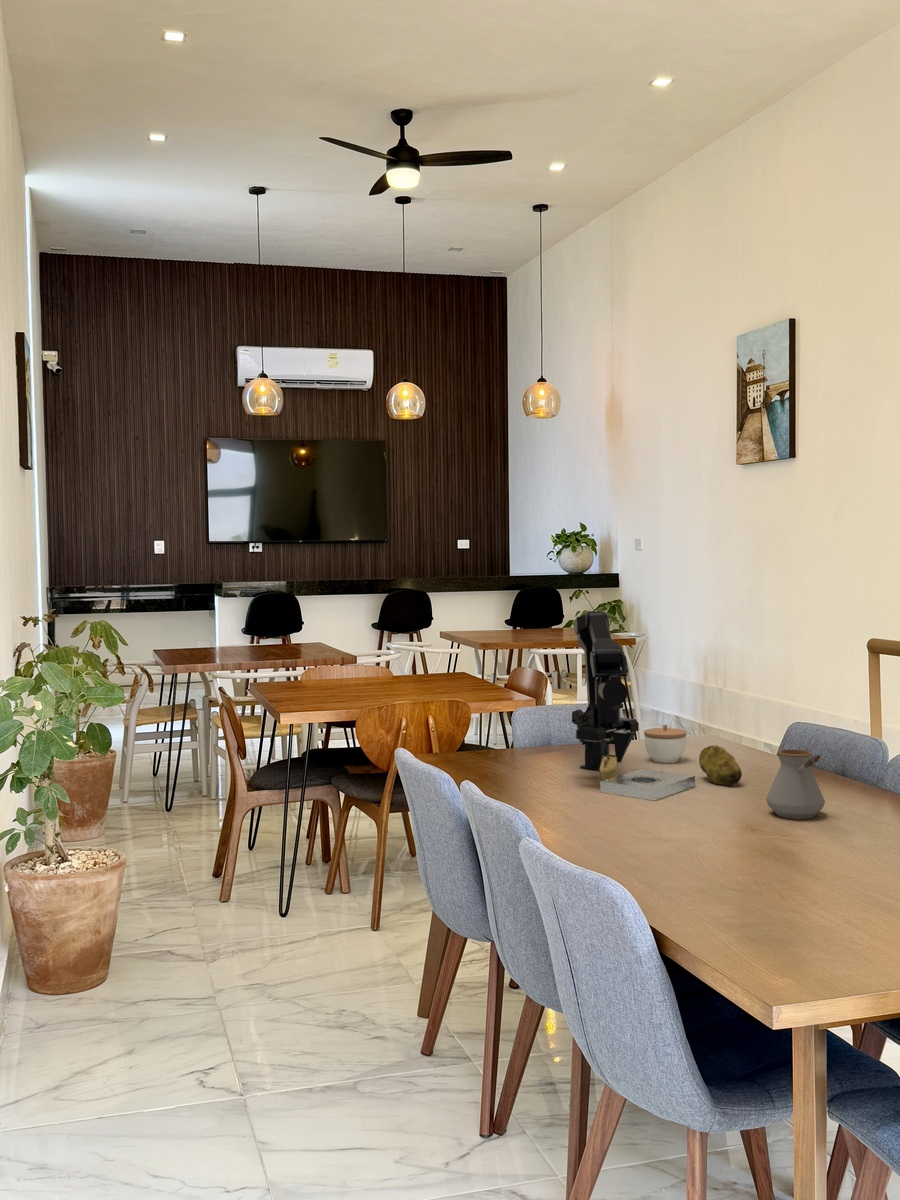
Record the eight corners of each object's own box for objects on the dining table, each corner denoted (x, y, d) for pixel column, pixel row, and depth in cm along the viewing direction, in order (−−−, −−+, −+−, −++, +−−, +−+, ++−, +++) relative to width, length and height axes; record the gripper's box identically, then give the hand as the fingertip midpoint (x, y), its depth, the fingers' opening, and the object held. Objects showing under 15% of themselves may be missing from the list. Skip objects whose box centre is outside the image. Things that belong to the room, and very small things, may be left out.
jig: (642, 778, 259) (642, 768, 259) (695, 786, 250) (695, 775, 250) (600, 792, 245) (600, 781, 245) (654, 800, 236) (654, 789, 236)
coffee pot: (759, 808, 228) (759, 737, 227) (814, 807, 228) (814, 736, 227) (789, 834, 207) (789, 756, 206) (849, 833, 206) (849, 755, 206)
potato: (707, 787, 248) (707, 753, 248) (696, 776, 261) (696, 743, 261) (744, 787, 248) (743, 752, 247) (731, 776, 261) (731, 743, 260)
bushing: (605, 778, 260) (605, 754, 259) (620, 781, 257) (619, 755, 257) (596, 781, 257) (596, 756, 256) (610, 783, 254) (610, 758, 254)
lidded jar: (690, 764, 275) (690, 727, 275) (648, 765, 275) (647, 728, 275) (681, 756, 286) (681, 721, 286) (641, 757, 286) (640, 722, 286)
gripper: (600, 692, 268) (601, 755, 269) (556, 701, 254) (557, 767, 255) (639, 696, 261) (640, 760, 262) (596, 705, 247) (597, 773, 248)
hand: (608, 765), depth 257 cm, fingers open, 9 cm apart
